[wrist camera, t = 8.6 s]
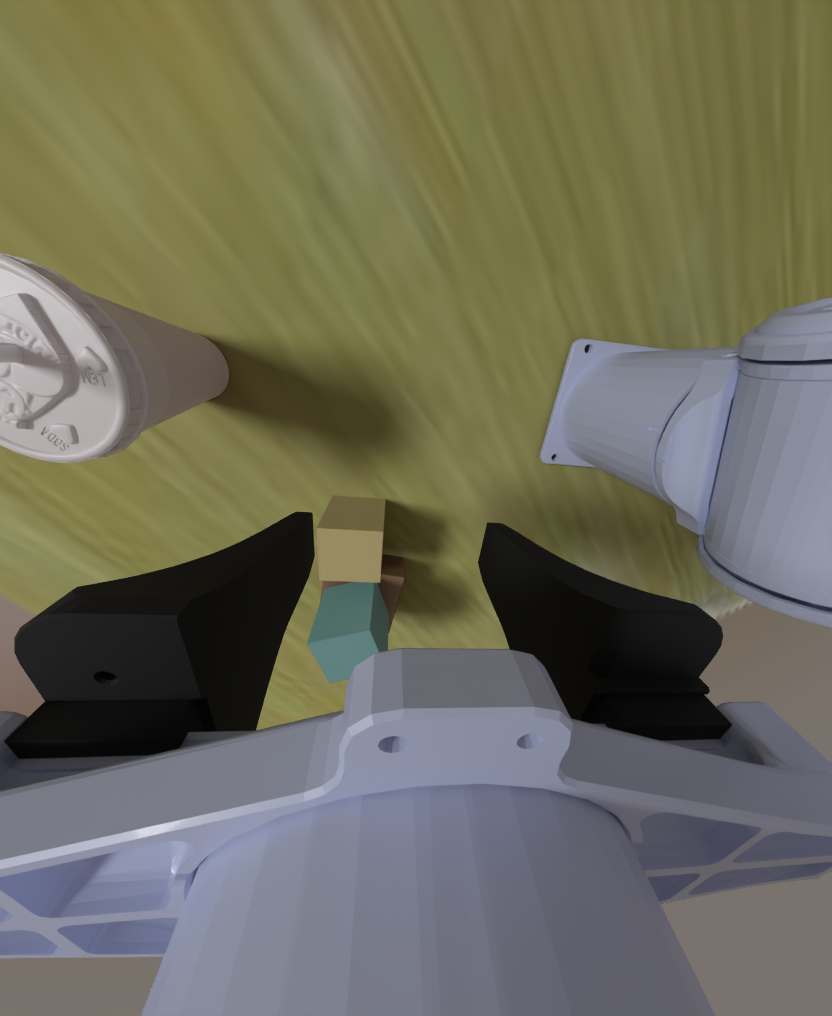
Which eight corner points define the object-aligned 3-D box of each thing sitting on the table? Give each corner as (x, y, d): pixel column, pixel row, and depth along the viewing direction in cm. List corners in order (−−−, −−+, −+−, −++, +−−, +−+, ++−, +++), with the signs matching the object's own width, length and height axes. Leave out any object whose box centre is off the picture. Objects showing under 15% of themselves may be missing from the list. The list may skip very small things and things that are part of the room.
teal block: (388, 614, 24) (387, 671, 20) (342, 624, 25) (330, 682, 20) (374, 577, 23) (369, 630, 18) (324, 588, 23) (307, 643, 18)
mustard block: (385, 498, 23) (383, 531, 18) (383, 542, 25) (380, 582, 20) (332, 495, 23) (316, 528, 18) (333, 540, 24) (319, 580, 20)
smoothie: (267, 350, 18) (-24, 316, 6) (232, 439, 20) (-37, 562, 8) (153, 277, 16) (-673, -20, 4) (127, 383, 18) (-453, 425, 6)
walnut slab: (403, 555, 26) (404, 577, 23) (389, 607, 28) (388, 633, 25) (333, 543, 25) (325, 565, 22) (324, 598, 27) (317, 624, 24)
